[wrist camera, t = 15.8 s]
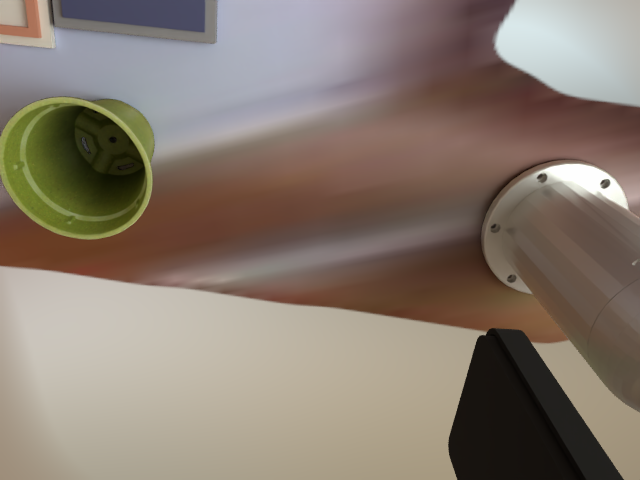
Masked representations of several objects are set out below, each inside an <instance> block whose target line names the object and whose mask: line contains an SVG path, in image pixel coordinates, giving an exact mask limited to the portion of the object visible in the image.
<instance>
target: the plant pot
mask: <svg viewBox="0 0 640 480" xmlns="http://www.w3.org/2000/svg"><path fill="white" fill-rule="evenodd" d="M94 110H95V111H97V112H98V113H94ZM82 137H84V138H85V139H86V142H87V145H88V148H89V151H90V152H91V154H90V153H88V152H87V151H86V150H85V148H84V147H83V145H82V141H81V140H82ZM111 137H115V138H116V142H115V143H112V142H110V138H111ZM153 152H154V135H153V132H152V129H151V127H150V125H149V123H148V121H147V120H146V118H145V117H144V116H143V115H142V114H141V113H140V112H139V111H138V110H136V109H135V108H133V107H131V106H130V105H128V104H126V103H124V102H122V101H118V100H113V99H102V100H97V101H91V102H90V101H87V100H84V99H80V98H74V97H51V98H46V99H42V100H39V101H36V102H33V103H31V104H29V105H27V106H25V107H24V108H22V109H21V110H19V111H18V112H17V113H16V114H15V115H14V116H13V117H12V118H11V119H10V120H9V121H8V123H7V124H6V126H5V128H4V130H3V132H2V134H1V137H0V176H1V179H2V182H3V184H4V186H5V188H6V190H7V192H8V193H9V195H10V197H11V198H12V199H13V201H14V202H15V203H16V205H17V206H18V207H19V208H20V209H21V210H22V211H23V212H24V213H25V214H26V215H27V216H29V217H30V218H31V219H32V220H33V221H35V222H36V223H38V224H39V225H41V226H42V227H44V228H46V229H48V230H50V231H52V232H54V233H57V234H60V235H63V236H67V237H72V238H78V239H100V238H104V237H109V236H112V235H115V234H117V233H120V232H122V231H123V230H125V229H127V228H128V227H130V226H131V225H132V224H134V223H135V222H136V221H137V220H138V218H139V217H140V216H141V215H142V213H143V212H144V210H145V208H146V206H147V205H148V202H149V200H150V196H151V192H152V183H153V177H152V168H151V164H150V162H151V159H152V156H153ZM130 163H133V164H134V165H133V167H131V168H127V169H125V170H119V169H118V168H117V167H118V166H122V165H127V164H130Z"/></svg>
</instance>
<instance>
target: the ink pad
mask: <svg viewBox="0 0 640 480" xmlns="http://www.w3.org/2000/svg"><path fill="white" fill-rule="evenodd" d="M52 3H53V13H54V22H55V27H61V28H71V29H80V30H90V31H99V32H109V33H118V34H128V35H137V36H147V37H156V38H166V39H175V40H185V41H194V42H204V43H213V44H215V43H216V42H217V0H52Z"/></svg>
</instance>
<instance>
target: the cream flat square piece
mask: <svg viewBox="0 0 640 480" xmlns="http://www.w3.org/2000/svg"><path fill="white" fill-rule="evenodd" d="M0 43H6V44H16V45H25V46H35V47H45V48H55V47H56V45H55V36H54V27H53V17H52V8H51V0H0Z"/></svg>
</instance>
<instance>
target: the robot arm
mask: <svg viewBox="0 0 640 480" xmlns="http://www.w3.org/2000/svg"><path fill="white" fill-rule="evenodd" d="M539 174H540V176H539V177H538V175H539ZM493 224H494V225H493ZM492 225H493V226H492ZM481 244H482V252H483V254H484V257H485V260H486V262H487V264H488V265H489V267H490V269H491V270H492V272H493V273H494V274H495V275H496V276H497V278H498V279H499V280H500V281H502V282H503V283H504V284H505V285H507V286H509V287H511V288H513V289H515V290H517V291H520V292H524V293H528V294H533V295H534V296H535V297H536V299H537V300H538V301H539V302H540V304H541V305H542V306H543V307H544V309H545V310H546V311H547V312H548V314H549V315H550V316H551V317H552V319H553V320H554V321H555V323H556V324H557V325H558V326H559V328H560V329H561V330H562V331H563V333H564V334H565V335H566V336H567V338H568V339H569V340H570V341H571V343H572V344H573V345H574V347H575V348H576V349H577V350H578V352H579V353H580V354H581V355H582V357H583V358H584V359H585V360H586V362H587V363H588V364H589V365H590V367H591V368H592V369H593V371H594V372H595V373H596V374H597V376H598V377H599V378H600V379H601V381H602V382H603V383H604V384H605V386H606V387H607V388H608V389H609V390H610V391H611V392H612V393H613V394H614V395H615V396H616V397H617V398H618V399H620V400H621V401H622V402H624V403H625V404H626V405H628V406H630V407H631V408H633V409H635V410H637V411H638V412H640V218H639V217H638V216H636V215H635V214H633V213H632V212H630V211H629V207H628V202H627V197H626V195H625V193H624V191H623V189H622V187H621V186H620V184H619V183H618V182H617V181H616V179H615V178H614V177H612V176H611V175H610V174H608V173H607V172H606V171H604V170H603V169H601V168H599V167H597V166H595V165H593V164H590V163H587V162H583V161H578V160H558V161H551V162H548V163H544V164H540V165H538V166H535V167H533V168H531V169H529V170H527V171H525V172H523V173H522V174H520V175H519V176H517V177H516V178H515V179H513V180H512V181H511V182H510V183H509V184H508V185H506V186H505V187H504V188H503V189H502V190H501V191H500V193H499V194H498V195H497V197H496V198H495V199H494V201H493V202H492V204H491V206H490V208H489V210H488V211H487V213H486V216H485V219H484V223H483V226H482V234H481ZM448 447H449V455H450V459H451V462H452V465H453V468H454V471H455V474H456V477H457V480H624V479H623V478H622V476H621V475H620V473H619V472H618V470H617V469H616V468H615V466H614V465H613V463H612V462H611V460H610V459H609V457H608V456H607V454H606V453H605V451H604V450H603V449H602V447H601V445H600V444H599V442H598V441H597V439H596V438H595V437H594V435H593V434H592V432H591V431H590V429H589V428H588V426H587V425H586V423H585V422H584V420H583V419H582V417H581V416H580V414H579V413H578V411H577V410H576V408H575V407H574V406H573V404H572V403H571V401H570V400H569V398H568V397H567V395H566V394H565V392H564V391H563V389H562V388H561V386H560V385H559V383H558V382H557V380H556V379H555V378H554V376H553V375H552V373H551V372H550V370H549V369H548V367H547V366H546V364H545V363H544V361H543V360H542V358H541V357H540V355H539V354H538V352H537V351H536V349H535V348H534V347H533V345H532V343H531V342H530V341H529V339H528V338H527V336H526V335H525V333H524V332H523V331H521V330H513V329H496V328H492V329H489V331H488V332H487V334H486V335H481V336H479V338H478V339H477V342H476V345H475V349H474V352H473V356H472V359H471V363H470V366H469V370H468V373H467V377H466V380H465V384H464V387H463V391H462V394H461V398H460V401H459V405H458V408H457V412H456V415H455V419H454V422H453V426H452V429H451V433H450V436H449V444H448Z"/></svg>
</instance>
